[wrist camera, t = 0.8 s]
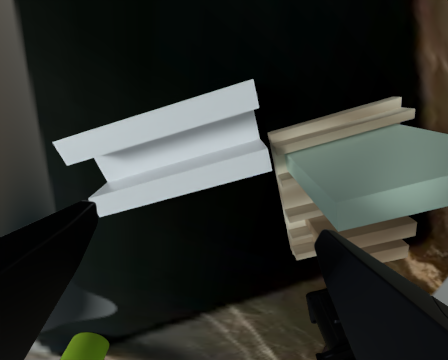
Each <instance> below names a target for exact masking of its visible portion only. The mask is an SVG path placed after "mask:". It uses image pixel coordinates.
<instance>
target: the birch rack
mask: <svg viewBox="0 0 448 360" xmlns="http://www.w3.org/2000/svg"><path fill="white" fill-rule="evenodd" d="M401 100H402V97H390V98H387V99H383V100H380V101H376V102H373V103H369V104H366V105H362V106H359V107H355V108H352V109H349V110H345V111H342V112H338V113H335V114H331V115H328V116H324V117H321V118H317V119H314V120H310V121H307V122H303V123H300V124H296V125H293V126H289V127H286V128H282V129H279V130H275V131H272V132H268V136H269V141H270V147H271V152H272V157H273V162H274V167H275V172H276V177H277V182H278V187H279V192H280V197H281V202H282V207H283V212H284V217H285V222H286V227H287V232H288V237H289V242H290V247H291V250H292V253H293V255H295V257H296V259H297V260H299V259H304V258H308V257H313V256H317V255H316V252H315V249H314V242H313V240H312V237H313V235H312V233H311V232H310V230H309V229H308V227H307V226H306V224H305V219H310V218H314V217H318V216H322V215H324V214H323V213H322V211H321V210H320V209H319V208H318V207H317V205H316V204H315V203H314V202H313V201H312V199H311V198H310V197H309V196H308V195H307V193H306V192H305V191H304V190H303V188H302V187H301V186H300V185H299V184H298V182H297V181H296V180H295V179H294V178H293V176H292V175H291V174H290V173H289V172H288V170H287V167H286V161H285V155H284V154H286V153H290V152H294V151H297V150H301V149H304V148H308V147H312V146H315V145H319V144H323V143H326V142H330V141H334V140H337V139H341V138H344V137H348V136H352V135H355V134H359V133H363V132H366V131H370V130H374V129H377V128H381V127H384V126H388V125H392V124H400V122H403V121H406V120H410V119H413V118H414V117H415V109H412V108H403V107H401Z"/></svg>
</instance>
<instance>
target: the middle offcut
mask: <svg viewBox="0 0 448 360" xmlns="http://www.w3.org/2000/svg"><path fill="white" fill-rule="evenodd" d="M305 224H306V226H307V227H308V229H309V230H310V232H311V233H312V235H313V237H314V238H315V240H316V239H317V238H318V236H319V234H320V232H321V231H322V230H323V229H329V230H334V231H335V232H337V233H338V234H340V235H341V236H343V237H344V238H346V239H347V240H349V241H350V242H352V243H353V244H355V245H356V246H358V247H359V248H362V247H367V246H371V245H376V244H380V243H385V242H389V241H394V240H398V239H402V238H407V237H411V236H415V235H416V226H417V222H416V221H414V220H413V219H411V218H410V217H408V216H403V217H399V218H395V219H391V220H386V221H382V222H378V223H373V224H369V225H365V226H361V227H356V228H352V229H348V230H344V231H339V232H338V231H337V230H336V228H335V227H334V226H333V225H332V224H331V222H330V221H329V220H328V219H327V218H326V216H325V215H322V216H318V217H314V218H310V219H305Z"/></svg>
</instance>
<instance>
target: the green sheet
mask: <svg viewBox="0 0 448 360" xmlns="http://www.w3.org/2000/svg"><path fill="white" fill-rule="evenodd" d="M284 155H285V161H286V167H287V170H288V172H289V173H290V174H291V175H292V176H293V178H294V179H295V180H296V181H297V182H298V184H299V185H300V186H301V187H302V188H303V190H304V191H305V192H306V193H307V195H308V196H309V197H310V198H311V199H312V201H313V202H314V203H315V204H316V205H317V207H318V208H319V209H320V210H321V211H322V213H323V214H324V215H325V216H326V218H327V219H328V220H329V221H330V222H331V224H332V225H333V226H334V227H335V228H336V230H337V231H338V232H339V231H344V230H348V229H352V228H356V227H361V226H365V225H369V224H373V223H378V222H382V221H386V220H391V219H395V218H399V217H403V216H408V215H412V214H416V213H421V212H425V211H429V210H433V209H438V208H442V207H446V206H448V134H444V133H439V132H434V131H429V130H424V129H419V128H415V127H410V126H405V125H400V124H392V125H388V126H384V127H381V128H377V129H374V130H370V131H366V132H363V133H359V134H355V135H352V136H348V137H344V138H341V139H337V140H334V141H330V142H326V143H323V144H319V145H315V146H312V147H308V148H304V149H301V150H297V151H294V152H290V153H286V154H284Z"/></svg>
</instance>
